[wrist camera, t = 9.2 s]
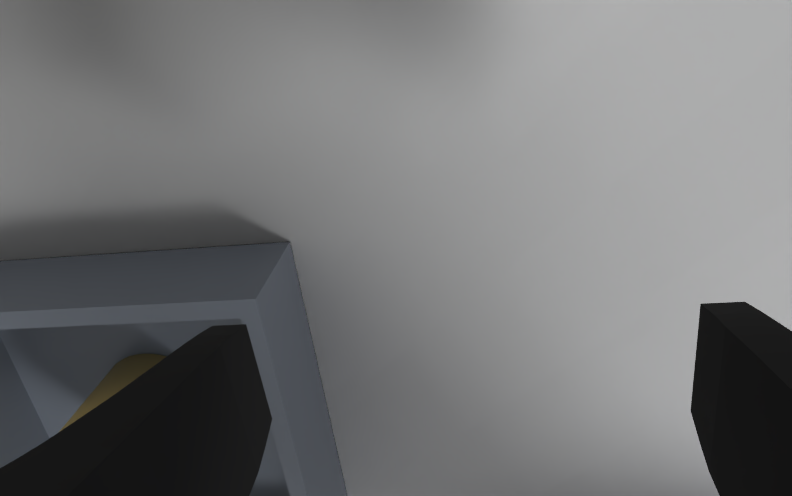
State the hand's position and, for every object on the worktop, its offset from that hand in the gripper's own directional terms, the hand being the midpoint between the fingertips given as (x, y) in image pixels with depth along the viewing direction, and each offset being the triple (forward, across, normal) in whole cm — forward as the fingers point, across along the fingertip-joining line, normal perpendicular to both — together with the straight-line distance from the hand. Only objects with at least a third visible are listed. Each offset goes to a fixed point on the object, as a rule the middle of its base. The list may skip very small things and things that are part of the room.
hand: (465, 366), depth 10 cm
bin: (+9, +12, +8) cm, 17 cm away
